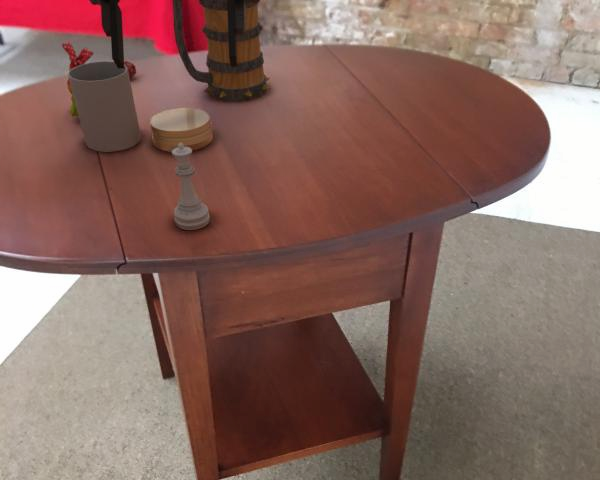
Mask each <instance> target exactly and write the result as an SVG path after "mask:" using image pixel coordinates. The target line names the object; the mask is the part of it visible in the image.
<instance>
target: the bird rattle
mask: <svg viewBox="0 0 600 480" xmlns="http://www.w3.org/2000/svg"><path fill="white" fill-rule="evenodd" d="M61 46H62V48H63V50H64V51H65V52H66V53H67V55H68V59H69V65H68V72H69V71H70V70H71V69H73V68H75V67H77V66H79V65H83V64H86V62H88V61H89V60H90V59H91V57H92V56H93V55H94V52H93V51H91V50H89V49H88V47H83V48H82V50H81V51H80V53H78V55H77V54H76V53H77V52H76V50H75V49H74V48H75V47H74V46H73V43H71V42H67V43H62V44H61ZM66 85H67V90H68V92H69V93H70V95H71V97H70V100H71V105H70V114H71V116H72V117H78V118H79V115H78V112H77V108H76V104H75V100H74V96H73V92H72V89H71V85H70V81H69V77H68V78H67V84H66Z"/></svg>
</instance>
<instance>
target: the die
mask: <svg viewBox="0 0 600 480" xmlns="http://www.w3.org/2000/svg"><path fill="white" fill-rule="evenodd" d="M124 65H125V66H126V67H127V68H128V73H129V78H130V79H132V78H133V77H134V76H136V74H137V69H136V65H135V64H134V63H133V62H130V61H127V60H124Z"/></svg>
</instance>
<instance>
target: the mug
mask: <svg viewBox="0 0 600 480" xmlns="http://www.w3.org/2000/svg"><path fill="white" fill-rule="evenodd" d="M171 2H172V11H173V12H172V13H173V14H172V16H173V19H172V20H173V32H174V33H173V34H174V41H175V45H176V47H177V50H178V53H179V57H180V59H181V61H182V63H183V65H184V68H185V70H186V71H187V73H188V75H189V76H190V77H191V78H192V79H194V80H195V81H196V82H200V83H204V84H207V87H206V88H205V89H204V90H203V92H204V93H207V94H208V95H209V96H210V97H212V98H213V99H214V100H218V101H223V102H237V103H238V102H244V101H245V102H246V101H251V100H255V99H257V98H261V97H262V96H263V95H265V94H266V93H267V92H268V90H270V89H271V87H270V86H268V85H267V82H268V81H269V80H270V77H268V76H266V75H265V71H264V63H265V59H264V53H263V52H262V51H261V44H260V43H261V42H260V34H261V32H262V31H263V25H261V23H260V22H259V3H260V2H261V0H259V1H258V2H256V3H253V2H251V3H249V4H247V5H246V7H245V33H244V35H236V44H237V67H231V64H230V59H229V40H228V11H227V0H198V3H199V5H201V6H202V9H203V15H204V16H203V17H204V23H205V25H203V27H202V29H201V32H202V33H203V34H204V36H205V38H206V41H207V55H206V62H205V65H206V67H207V69H208V71H200V70H198V69H197V68H195V65H194V64H193V62H192V60H191V58H190V55H189V52H188V50H187V49H188V48H187V45H186V43H185V37H184V27H183V24H184V23H183V21H184V20H183V16H184V15H183V13H184V12H183V1H182V0H172V1H171Z"/></svg>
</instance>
